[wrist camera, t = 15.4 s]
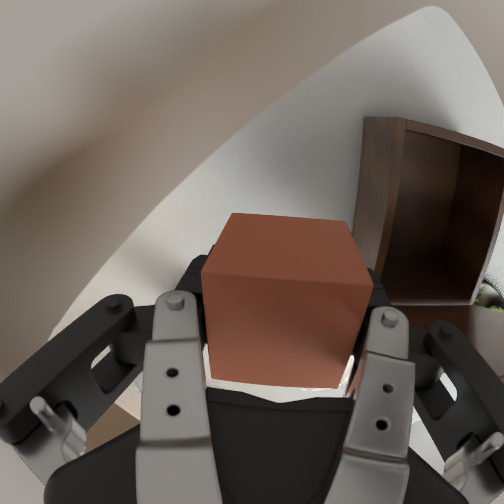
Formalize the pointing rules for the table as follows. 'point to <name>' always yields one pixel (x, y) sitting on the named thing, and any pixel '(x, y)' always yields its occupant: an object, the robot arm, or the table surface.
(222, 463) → the robot arm
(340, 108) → the table surface
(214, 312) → the block
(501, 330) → the lid
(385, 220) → the box
